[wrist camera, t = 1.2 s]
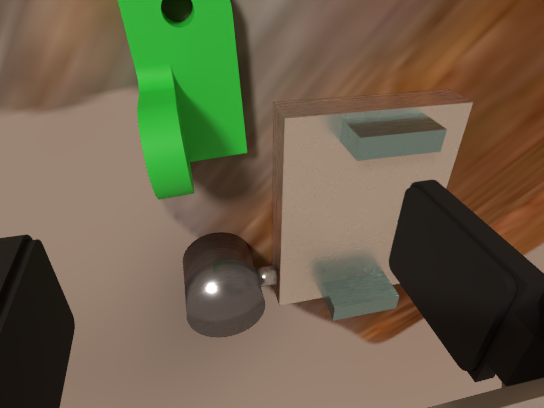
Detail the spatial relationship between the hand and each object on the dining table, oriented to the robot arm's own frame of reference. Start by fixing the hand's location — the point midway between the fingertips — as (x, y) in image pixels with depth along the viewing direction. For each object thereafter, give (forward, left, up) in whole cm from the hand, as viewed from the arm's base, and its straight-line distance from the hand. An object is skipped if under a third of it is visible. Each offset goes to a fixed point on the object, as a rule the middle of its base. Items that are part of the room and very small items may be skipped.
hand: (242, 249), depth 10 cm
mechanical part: (0, 0, -19) cm, 19 cm away
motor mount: (-8, +12, -18) cm, 23 cm away
